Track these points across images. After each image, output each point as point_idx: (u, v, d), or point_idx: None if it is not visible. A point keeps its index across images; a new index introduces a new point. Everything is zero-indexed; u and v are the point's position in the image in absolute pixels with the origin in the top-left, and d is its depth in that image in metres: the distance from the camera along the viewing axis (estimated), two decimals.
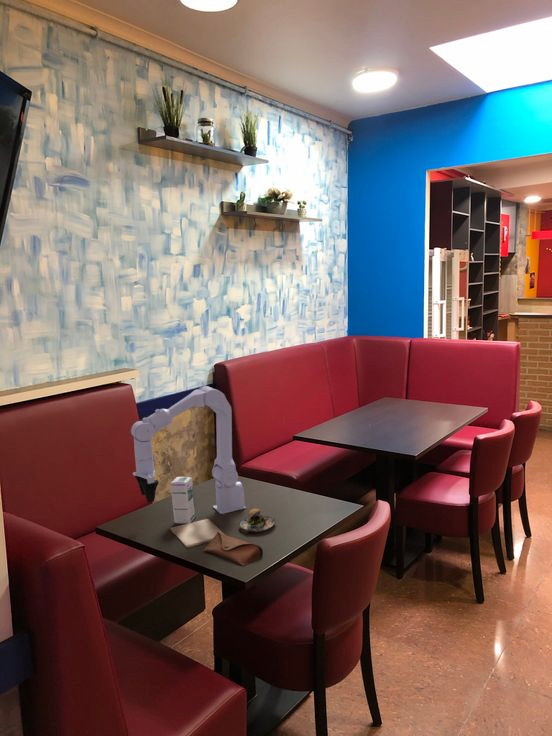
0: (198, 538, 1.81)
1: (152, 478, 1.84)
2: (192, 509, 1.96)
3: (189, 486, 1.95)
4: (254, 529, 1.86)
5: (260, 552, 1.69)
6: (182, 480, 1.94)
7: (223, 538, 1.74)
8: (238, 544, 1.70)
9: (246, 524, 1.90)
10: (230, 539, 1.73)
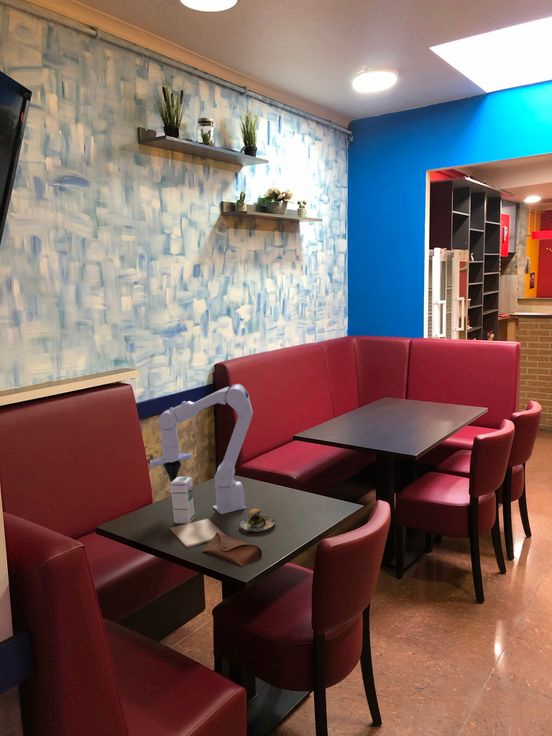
0: (198, 538, 1.81)
1: (151, 462, 2.00)
2: (192, 509, 1.96)
3: (189, 486, 1.95)
4: (254, 529, 1.86)
5: (259, 553, 1.68)
6: (182, 480, 1.94)
7: (222, 539, 1.73)
8: (237, 545, 1.69)
9: (246, 524, 1.90)
10: (229, 540, 1.72)
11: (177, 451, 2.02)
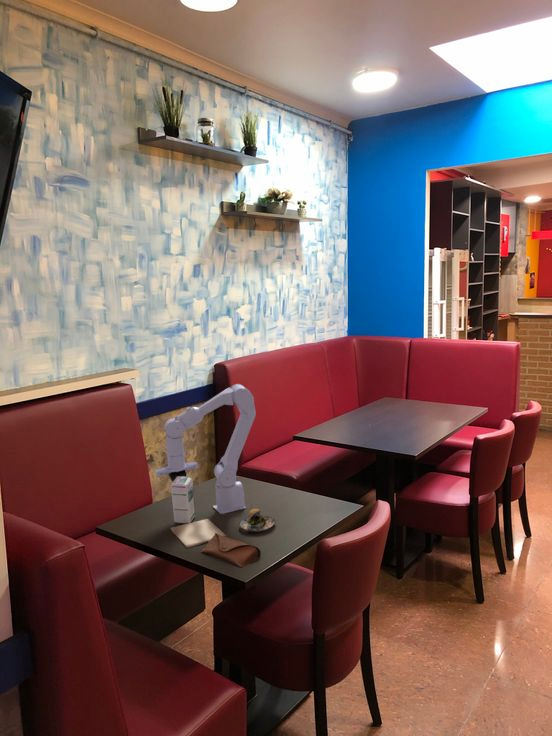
0: (198, 538, 1.81)
1: (156, 472, 1.95)
2: (192, 508, 1.96)
3: (190, 487, 1.93)
4: (254, 529, 1.86)
5: (258, 553, 1.68)
6: (182, 482, 1.92)
7: (221, 539, 1.73)
8: (236, 545, 1.69)
9: (246, 524, 1.90)
10: (228, 540, 1.72)
11: (183, 460, 1.97)
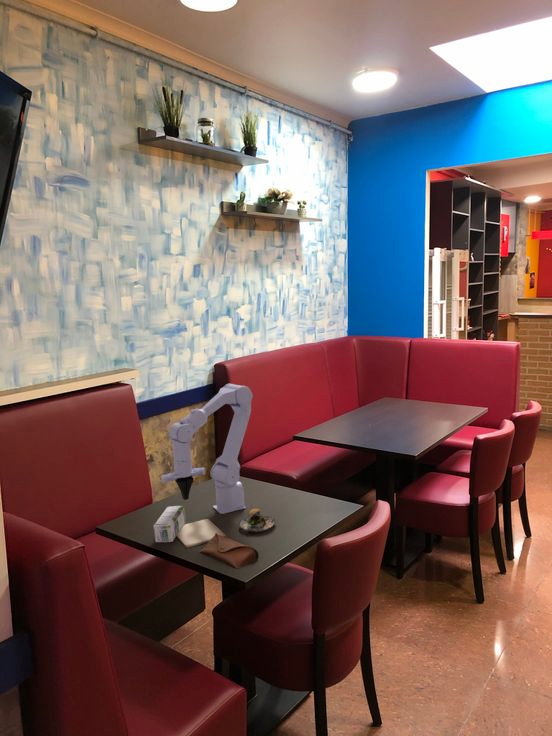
0: (198, 538, 1.81)
1: (162, 478, 1.89)
2: (181, 518, 1.90)
3: (173, 530, 1.82)
4: (254, 529, 1.86)
5: (256, 555, 1.67)
6: (165, 537, 1.80)
7: (220, 539, 1.73)
8: (234, 546, 1.68)
9: (246, 524, 1.90)
10: (227, 541, 1.72)
11: (190, 466, 1.91)
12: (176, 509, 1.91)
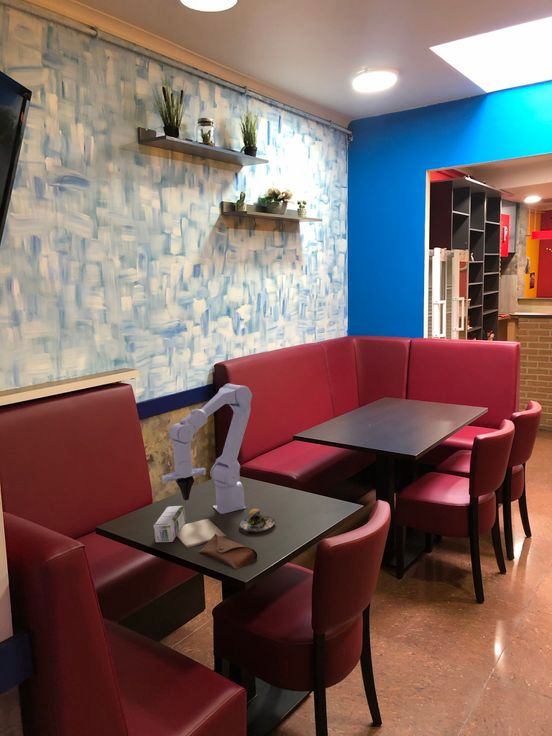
0: (198, 538, 1.81)
1: (163, 478, 1.89)
2: (181, 518, 1.90)
3: (173, 530, 1.82)
4: (254, 529, 1.86)
5: (254, 555, 1.67)
6: (165, 537, 1.80)
7: (219, 540, 1.73)
8: (233, 547, 1.68)
9: (246, 524, 1.90)
10: (226, 541, 1.72)
11: (190, 466, 1.91)
12: (176, 509, 1.91)
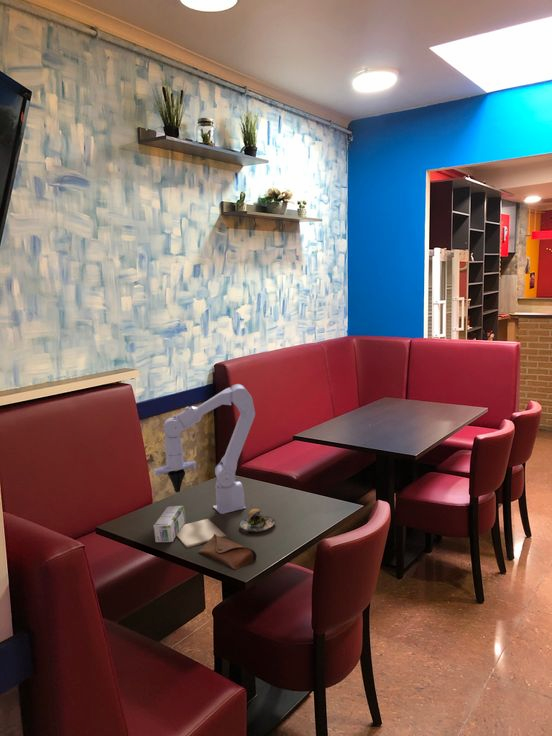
0: (198, 538, 1.81)
1: (155, 471, 1.96)
2: (181, 518, 1.90)
3: (173, 530, 1.82)
4: (254, 529, 1.86)
5: (253, 556, 1.67)
6: (165, 537, 1.80)
7: (218, 540, 1.72)
8: (232, 547, 1.68)
9: (246, 524, 1.90)
10: (225, 542, 1.71)
11: (181, 459, 1.99)
12: (176, 509, 1.91)
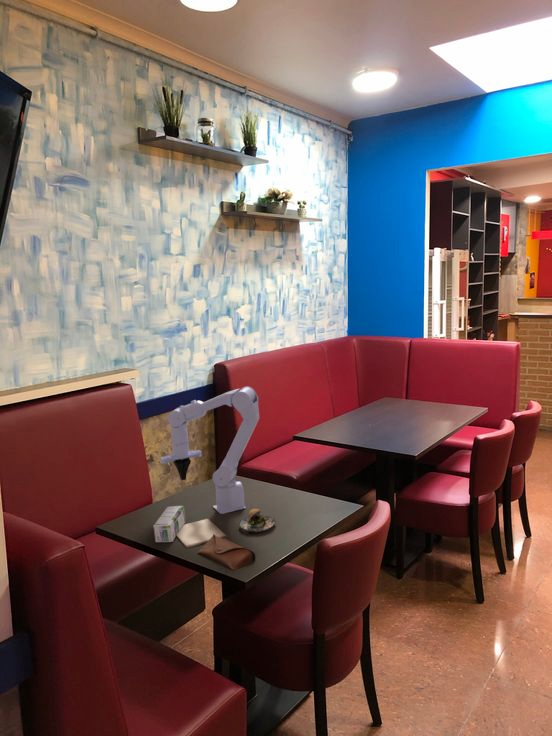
0: (198, 538, 1.81)
1: (161, 459, 2.02)
2: (181, 518, 1.90)
3: (173, 530, 1.82)
4: (254, 529, 1.86)
5: (252, 556, 1.66)
6: (165, 537, 1.80)
7: (217, 541, 1.72)
8: (231, 547, 1.68)
9: (246, 524, 1.90)
10: (224, 542, 1.71)
11: (187, 448, 2.05)
12: (176, 509, 1.91)
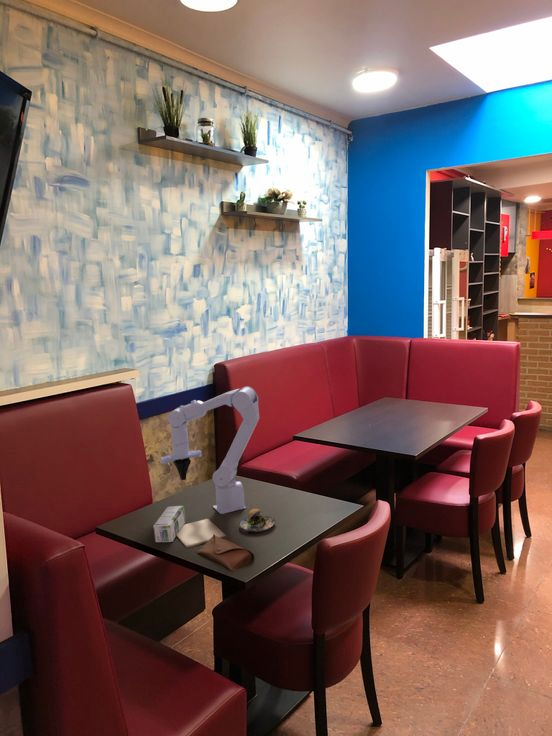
0: (198, 538, 1.81)
1: (161, 459, 2.02)
2: (181, 518, 1.90)
3: (173, 530, 1.82)
4: (254, 529, 1.86)
5: (251, 557, 1.66)
6: (165, 537, 1.80)
7: (217, 541, 1.72)
8: (230, 548, 1.67)
9: (246, 524, 1.90)
10: (223, 542, 1.71)
11: (187, 448, 2.05)
12: (176, 509, 1.91)
